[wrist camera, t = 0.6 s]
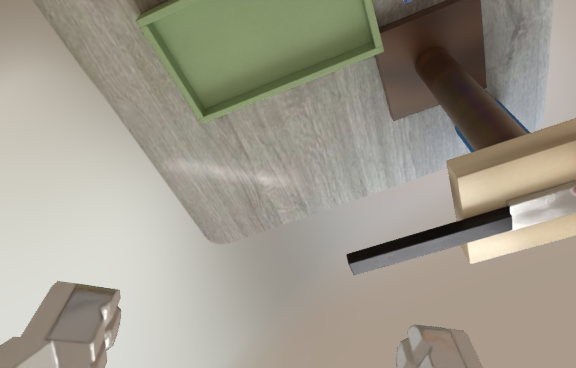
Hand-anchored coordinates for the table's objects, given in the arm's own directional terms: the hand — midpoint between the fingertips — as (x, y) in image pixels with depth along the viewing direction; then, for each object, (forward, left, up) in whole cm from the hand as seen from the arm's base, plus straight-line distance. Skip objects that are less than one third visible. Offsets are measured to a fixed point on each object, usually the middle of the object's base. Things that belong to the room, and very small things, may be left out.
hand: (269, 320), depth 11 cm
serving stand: (+16, +15, -40) cm, 45 cm away
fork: (+16, +10, -14) cm, 23 cm away
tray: (+5, -2, -40) cm, 40 cm away
